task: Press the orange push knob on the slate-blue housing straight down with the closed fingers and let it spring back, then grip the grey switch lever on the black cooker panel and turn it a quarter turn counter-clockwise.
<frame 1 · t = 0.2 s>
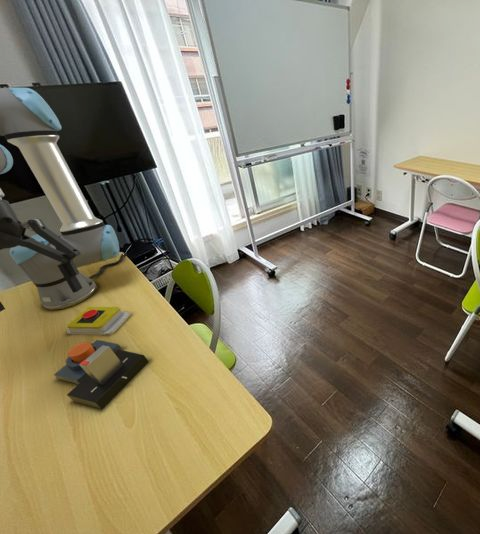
hand: (39, 300, 63), 26 cm above the table, tool tilted 15°, fingers open, 13 cm apart
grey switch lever: (102, 364, 73), point 7 cm above the table, hinge at 0.0°
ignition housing: (91, 363, 82), on the table
push knob: (81, 352, 79), point 5 cm above the table, slide at 0.1 cm
cooker panel: (113, 380, 77), on the table
emergency button: (100, 323, 95), on the table
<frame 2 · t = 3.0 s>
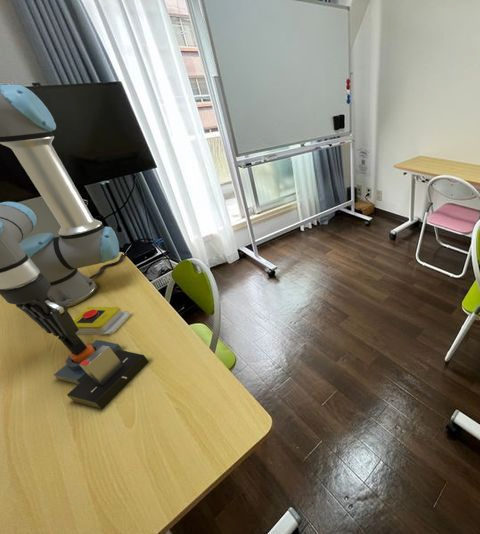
hand: (80, 350, 78), 6 cm above the table, tool pointing down, fingers closed
push knob: (83, 354, 79), point 4 cm above the table, slide at -0.7 cm, touching gripper
everything else where it was.
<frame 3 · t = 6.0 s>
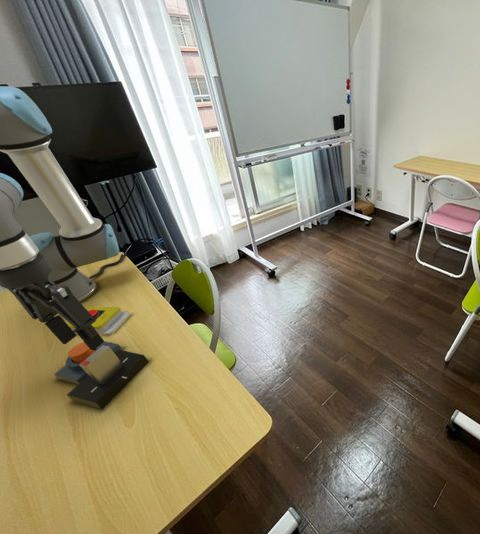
hand: (83, 342, 68), 15 cm above the table, tool pointing down, fingers open, 8 cm apart
push knob: (81, 352, 79), point 5 cm above the table, slide at 0.1 cm
everything else where it was.
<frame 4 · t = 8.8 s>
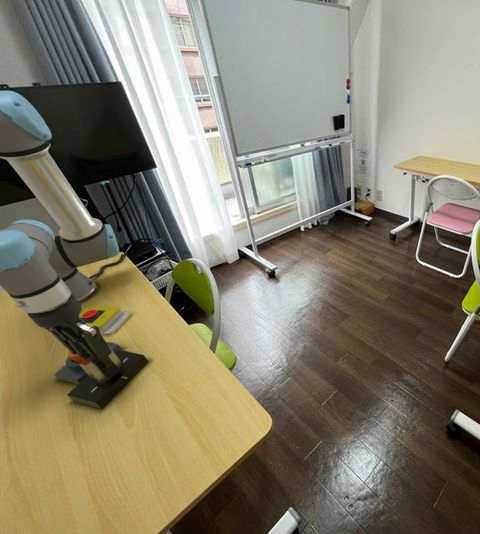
hand: (108, 372, 74), 4 cm above the table, tool pointing down, fingers closed on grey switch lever, 2 cm apart
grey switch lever: (102, 364, 73), point 7 cm above the table, hinge at 0.0°, touching gripper
everything else where it was.
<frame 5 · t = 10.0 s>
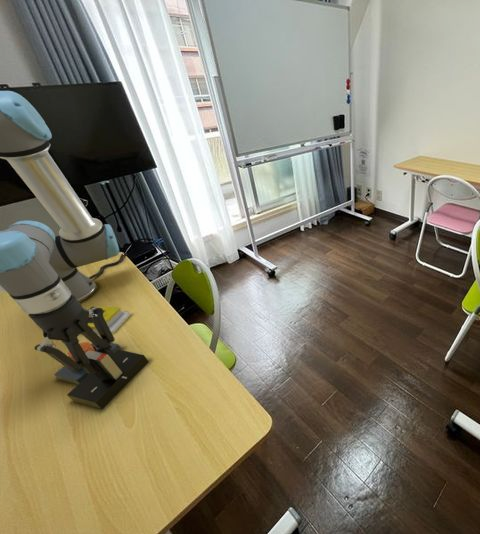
hand: (109, 372, 75), 4 cm above the table, tool pointing down, fingers open, 2 cm apart
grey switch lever: (102, 364, 73), point 7 cm above the table, hinge at 89.3°
everything else where it was.
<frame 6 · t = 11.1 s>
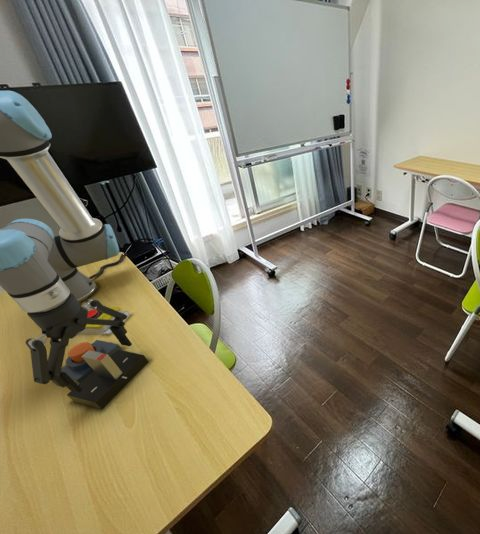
hand: (103, 365, 73), 6 cm above the table, tool pointing down, fingers open, 13 cm apart
nothing on the table moved.
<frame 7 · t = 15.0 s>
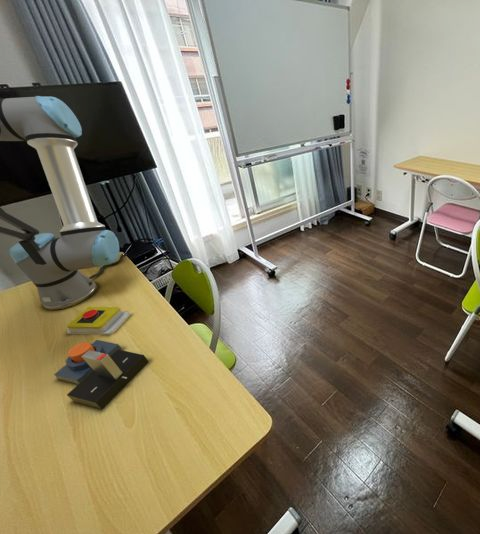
hand: (10, 279, 70), 27 cm above the table, tool pointing down, fingers open, 13 cm apart
nothing on the table moved.
at the end: push knob pushed in 1.0 cm at the most during the clip, back to where it started at the end; push knob slide at 0.1 cm; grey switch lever at +89° (first picture: +0°) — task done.
